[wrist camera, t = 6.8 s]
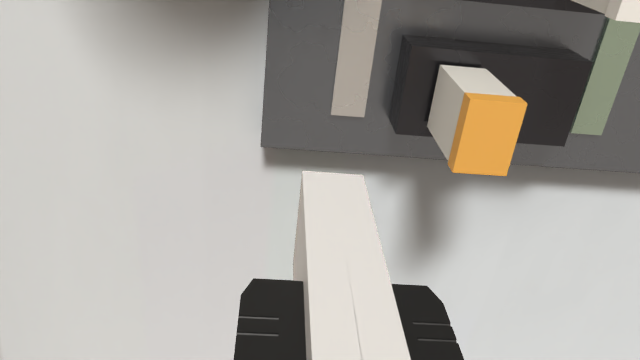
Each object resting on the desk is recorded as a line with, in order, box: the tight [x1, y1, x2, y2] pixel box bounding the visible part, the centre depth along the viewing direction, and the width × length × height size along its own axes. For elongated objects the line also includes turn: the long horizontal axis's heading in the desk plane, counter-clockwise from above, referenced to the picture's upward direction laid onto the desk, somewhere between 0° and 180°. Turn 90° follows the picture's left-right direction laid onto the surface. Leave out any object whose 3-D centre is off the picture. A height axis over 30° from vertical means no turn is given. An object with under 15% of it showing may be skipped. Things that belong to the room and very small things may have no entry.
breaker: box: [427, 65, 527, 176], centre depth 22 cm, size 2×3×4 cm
